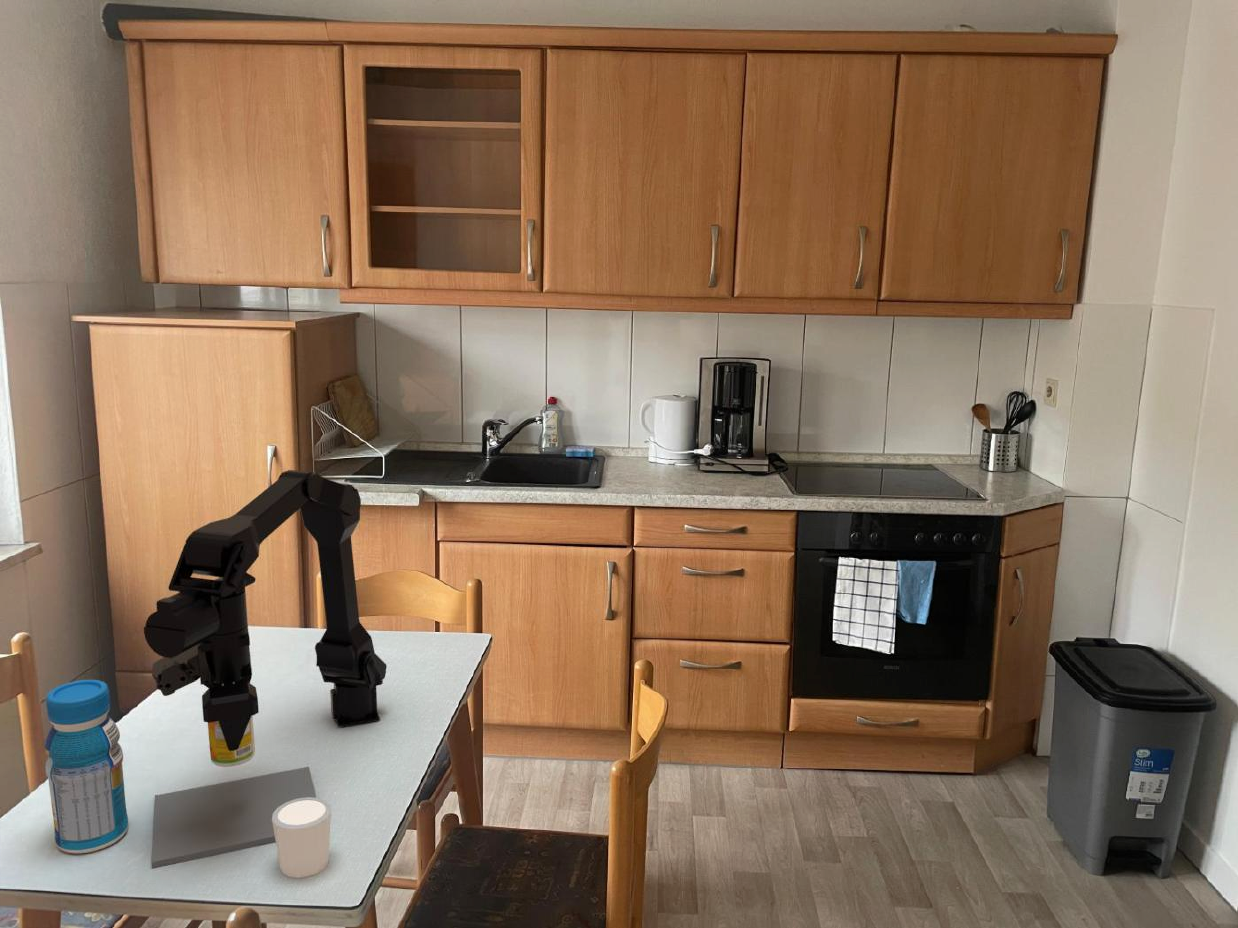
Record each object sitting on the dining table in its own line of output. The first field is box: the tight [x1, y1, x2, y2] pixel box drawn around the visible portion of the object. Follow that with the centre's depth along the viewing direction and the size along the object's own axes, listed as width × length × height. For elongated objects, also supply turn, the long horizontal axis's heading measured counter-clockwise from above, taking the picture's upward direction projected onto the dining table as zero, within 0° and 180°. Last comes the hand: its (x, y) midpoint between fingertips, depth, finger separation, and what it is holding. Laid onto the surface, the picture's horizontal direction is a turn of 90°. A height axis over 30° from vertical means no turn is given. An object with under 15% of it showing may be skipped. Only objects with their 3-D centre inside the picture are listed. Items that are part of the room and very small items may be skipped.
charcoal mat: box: [150, 766, 318, 869], centre depth 126 cm, size 20×16×1 cm
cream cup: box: [272, 797, 332, 879], centre depth 116 cm, size 7×7×7 cm
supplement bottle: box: [207, 682, 256, 768], centre depth 124 cm, size 5×5×10 cm
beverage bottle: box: [44, 679, 129, 854], centre depth 119 cm, size 8×8×20 cm
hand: (232, 739), depth 124 cm, fingers closed on supplement bottle, 5 cm apart
